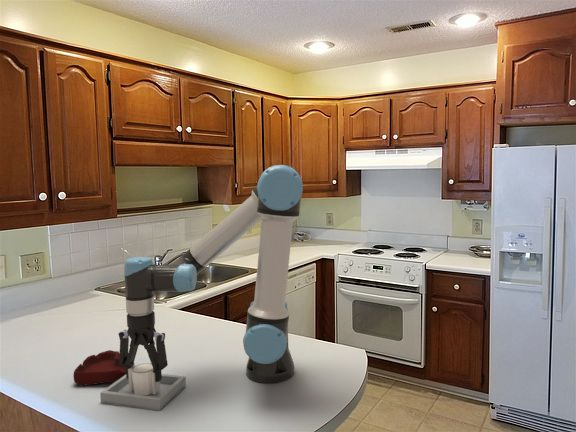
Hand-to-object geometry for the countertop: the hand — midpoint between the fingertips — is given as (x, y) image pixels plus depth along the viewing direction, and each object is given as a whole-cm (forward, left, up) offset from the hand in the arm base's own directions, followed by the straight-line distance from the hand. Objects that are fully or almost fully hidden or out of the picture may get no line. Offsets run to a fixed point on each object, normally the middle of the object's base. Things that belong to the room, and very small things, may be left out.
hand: (144, 390), depth 129 cm
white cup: (0, 0, -1) cm, 1 cm away
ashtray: (+20, -7, -2) cm, 21 cm away
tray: (0, 0, -1) cm, 1 cm away
